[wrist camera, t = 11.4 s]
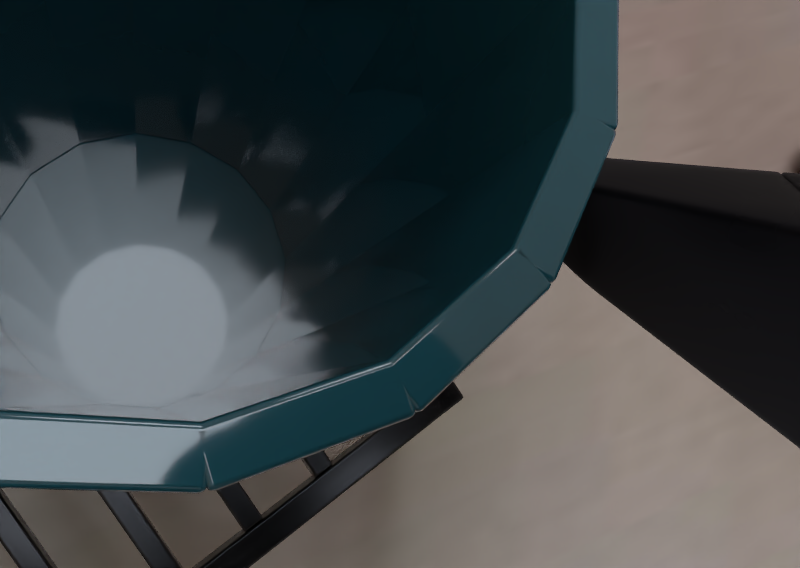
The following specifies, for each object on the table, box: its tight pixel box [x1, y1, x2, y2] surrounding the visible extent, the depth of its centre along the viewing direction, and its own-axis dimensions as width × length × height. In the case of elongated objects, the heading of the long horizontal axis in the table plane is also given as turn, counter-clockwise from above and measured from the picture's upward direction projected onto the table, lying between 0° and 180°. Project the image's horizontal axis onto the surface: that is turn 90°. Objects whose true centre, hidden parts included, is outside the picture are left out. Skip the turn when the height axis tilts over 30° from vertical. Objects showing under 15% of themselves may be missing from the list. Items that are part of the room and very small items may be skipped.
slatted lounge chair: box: [0, 382, 463, 568], centre depth 16 cm, size 12×12×9 cm
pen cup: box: [0, 0, 619, 494], centre depth 11 cm, size 7×7×13 cm
